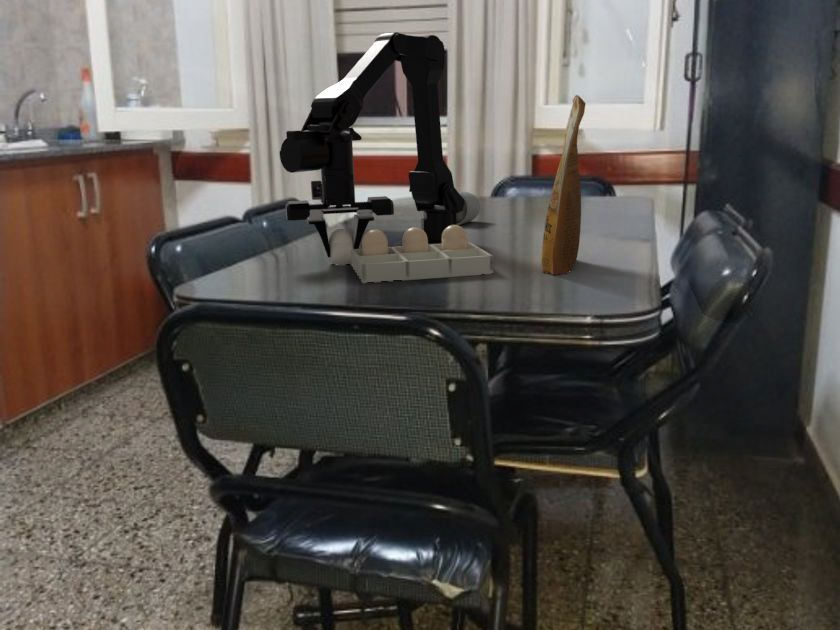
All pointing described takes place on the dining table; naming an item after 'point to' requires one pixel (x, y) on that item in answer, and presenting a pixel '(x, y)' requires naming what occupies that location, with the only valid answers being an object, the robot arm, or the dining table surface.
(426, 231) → the robot arm
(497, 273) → the dining table surface
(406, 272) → the carton
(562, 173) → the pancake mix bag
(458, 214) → the ceramic mug
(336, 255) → the egg
